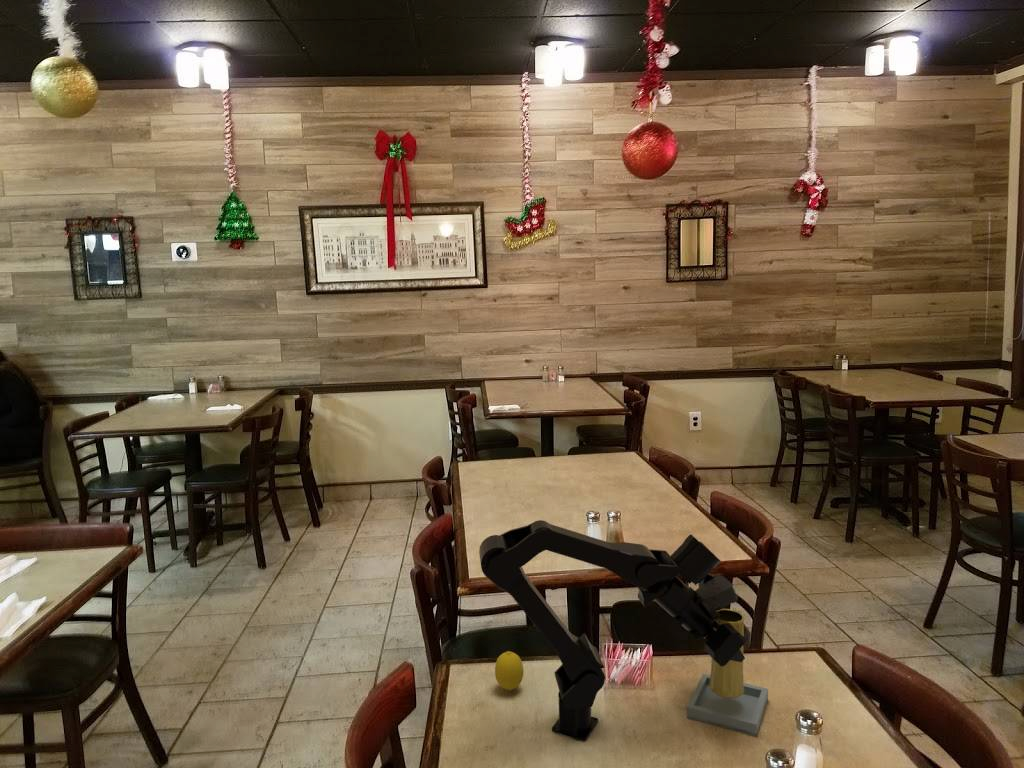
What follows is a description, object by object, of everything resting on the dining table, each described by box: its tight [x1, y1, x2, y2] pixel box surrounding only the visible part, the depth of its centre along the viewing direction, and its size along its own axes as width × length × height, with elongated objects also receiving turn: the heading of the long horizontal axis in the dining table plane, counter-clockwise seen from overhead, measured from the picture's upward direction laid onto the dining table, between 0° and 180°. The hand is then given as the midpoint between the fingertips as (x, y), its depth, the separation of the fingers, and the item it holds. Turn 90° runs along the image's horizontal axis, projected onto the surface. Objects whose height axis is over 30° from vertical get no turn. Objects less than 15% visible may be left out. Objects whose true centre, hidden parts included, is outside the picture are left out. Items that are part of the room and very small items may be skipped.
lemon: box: [494, 650, 524, 692], centre depth 135 cm, size 6×6×8 cm
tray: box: [686, 673, 769, 738], centre depth 127 cm, size 12×12×2 cm
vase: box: [709, 608, 745, 698], centre depth 126 cm, size 6×6×14 cm
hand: (734, 651), depth 126 cm, fingers closed on vase, 5 cm apart
